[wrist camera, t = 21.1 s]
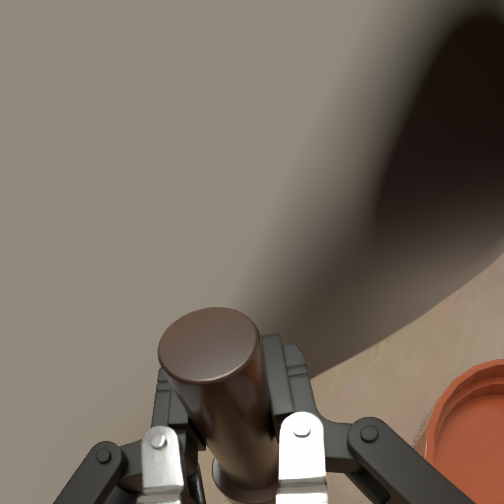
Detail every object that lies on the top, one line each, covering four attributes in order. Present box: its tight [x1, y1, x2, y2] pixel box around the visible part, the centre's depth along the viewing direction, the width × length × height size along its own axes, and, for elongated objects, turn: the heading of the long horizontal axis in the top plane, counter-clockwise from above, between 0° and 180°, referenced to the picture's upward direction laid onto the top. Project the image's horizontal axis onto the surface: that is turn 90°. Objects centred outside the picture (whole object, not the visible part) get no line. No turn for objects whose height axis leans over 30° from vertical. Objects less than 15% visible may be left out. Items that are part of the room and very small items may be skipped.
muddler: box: [158, 307, 280, 504], centre depth 11 cm, size 4×4×12 cm
